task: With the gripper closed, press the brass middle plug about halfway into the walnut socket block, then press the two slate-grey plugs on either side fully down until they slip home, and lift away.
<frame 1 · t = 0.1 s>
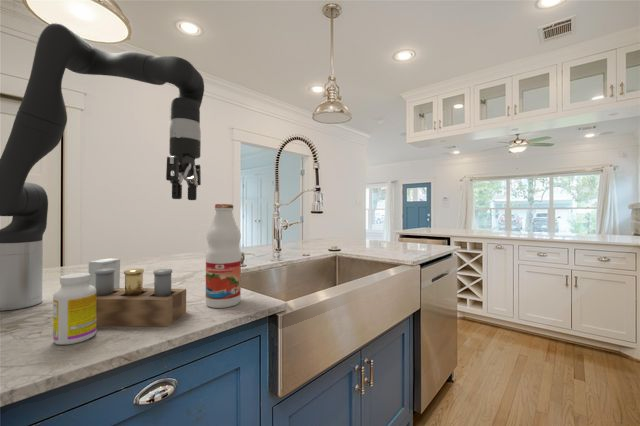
hand: (184, 199, 76), 29 cm above the worktop, tool pointing down, fingers open, 8 cm apart
supplement bottle: (75, 339, 58), on the worktop
plug mid: (133, 284, 68), point 8 cm above the worktop, slide at 0.0 cm
fruit juice: (223, 303, 80), on the worktop
plug 2: (162, 285, 68), point 8 cm above the worktop, slide at 0.0 cm
skincare box: (104, 303, 79), on the worktop
plug 1: (105, 284, 68), point 8 cm above the worktop, slide at 0.0 cm
socket block: (133, 318, 68), on the worktop
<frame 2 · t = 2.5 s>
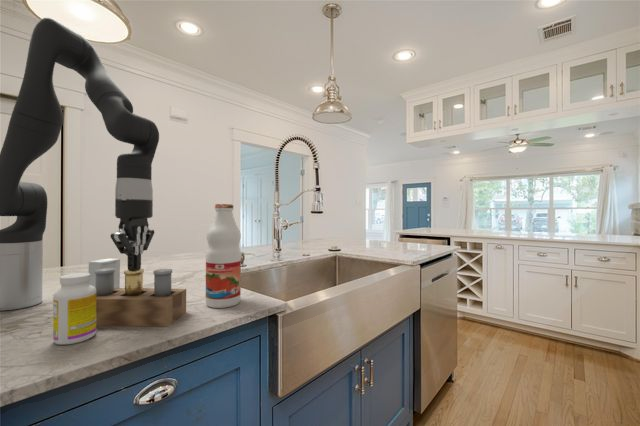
hand: (134, 270, 68), 12 cm above the worktop, tool pointing down, fingers closed
plug mid: (133, 284, 68), point 8 cm above the worktop, slide at 0.0 cm, touching gripper
everything else where it was.
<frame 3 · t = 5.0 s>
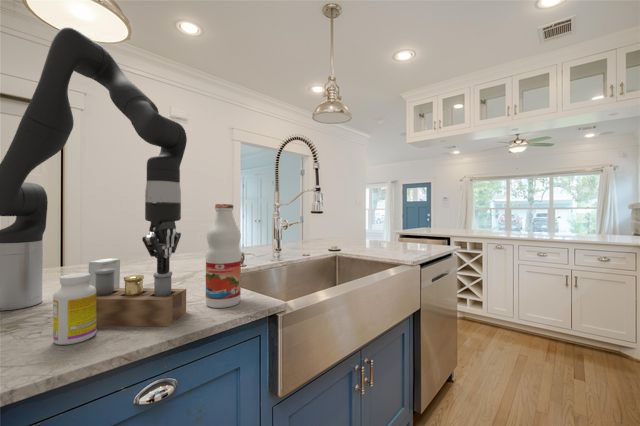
hand: (163, 273, 68), 11 cm above the worktop, tool pointing down, fingers closed
plug mid: (133, 291, 68), point 7 cm above the worktop, slide at 1.5 cm
plug 2: (162, 287, 68), point 7 cm above the worktop, slide at 0.6 cm, touching gripper
everything else where it was.
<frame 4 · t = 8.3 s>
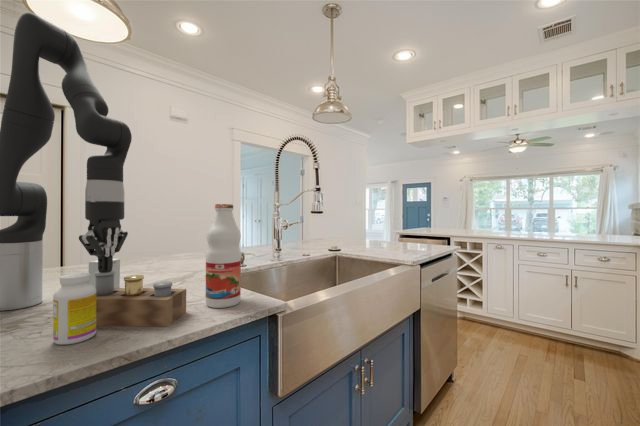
hand: (105, 272, 68), 11 cm above the worktop, tool pointing down, fingers closed
plug 2: (162, 298, 68), point 5 cm above the worktop, slide at 3.1 cm
plug 1: (105, 286, 68), point 8 cm above the worktop, slide at 0.5 cm, touching gripper
everything else where it was.
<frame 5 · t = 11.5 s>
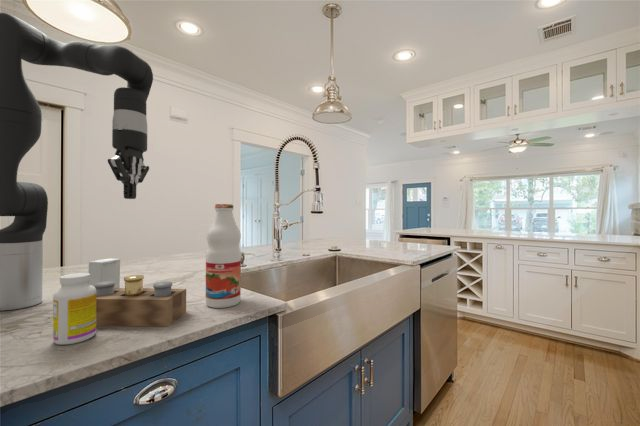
hand: (129, 198, 73), 29 cm above the worktop, tool pointing down, fingers closed
plug 1: (104, 297, 68), point 5 cm above the worktop, slide at 3.2 cm
everything else where it was.
at the end: plug 2 slide at 3.1 cm; plug 1 slide at 3.2 cm; plug mid slide at 1.5 cm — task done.
